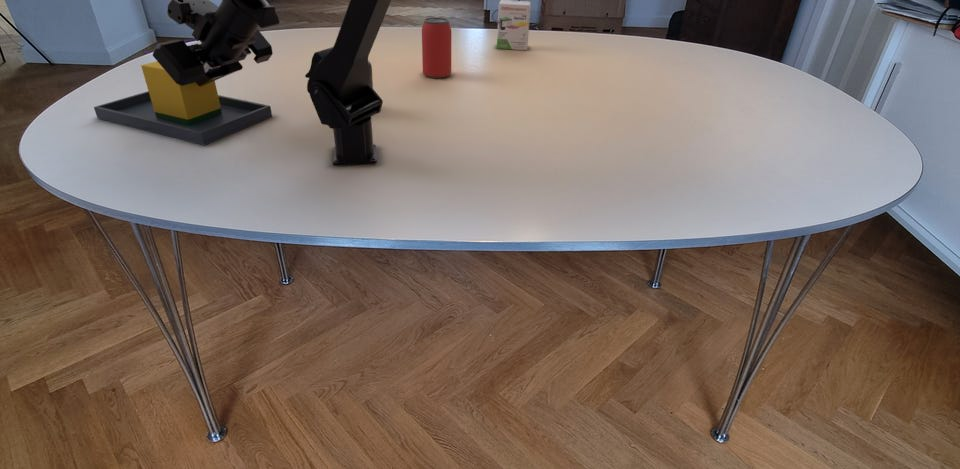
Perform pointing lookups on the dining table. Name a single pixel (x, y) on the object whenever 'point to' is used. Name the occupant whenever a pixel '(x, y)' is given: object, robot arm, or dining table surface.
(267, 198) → the dining table surface
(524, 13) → the ink box
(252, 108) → the tray
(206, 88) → the sponge
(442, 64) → the beer can
